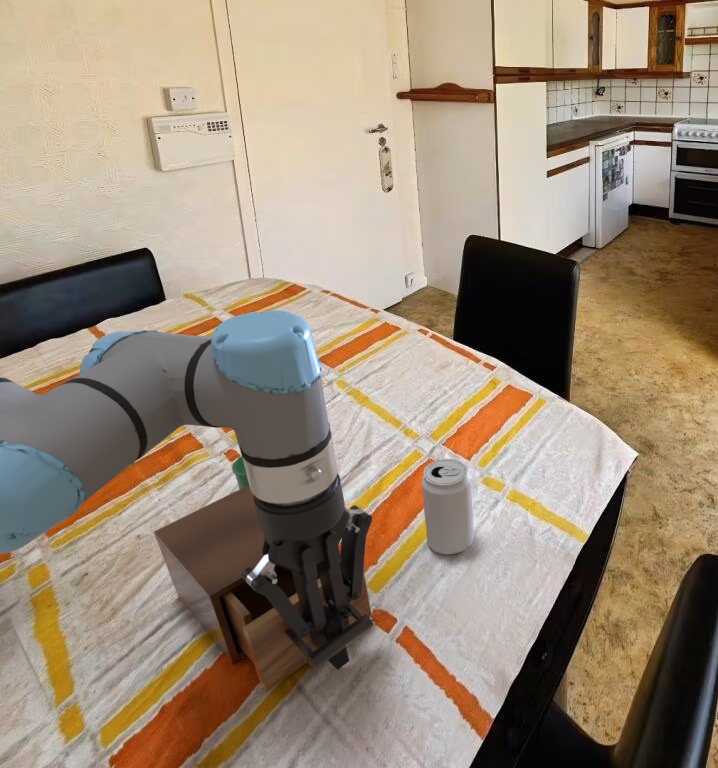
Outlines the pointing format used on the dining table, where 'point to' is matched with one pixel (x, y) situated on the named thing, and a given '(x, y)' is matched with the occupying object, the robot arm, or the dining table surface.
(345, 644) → the drawer
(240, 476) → the green cup
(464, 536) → the beverage can
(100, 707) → the dining table surface
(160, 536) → the cabinet
